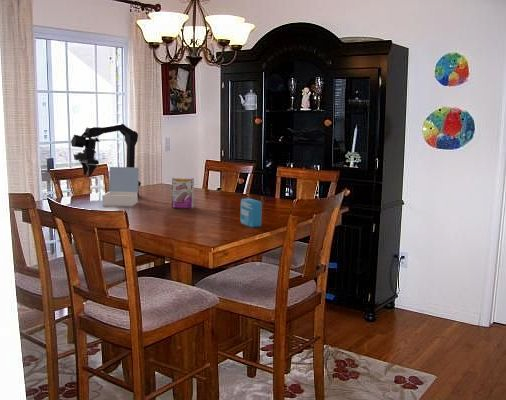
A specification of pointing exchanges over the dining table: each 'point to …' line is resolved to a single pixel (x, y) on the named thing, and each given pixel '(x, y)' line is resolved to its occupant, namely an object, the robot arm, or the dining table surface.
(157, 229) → the dining table surface
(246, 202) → the data package
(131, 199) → the storage box
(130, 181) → the lid
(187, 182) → the candy bar box
